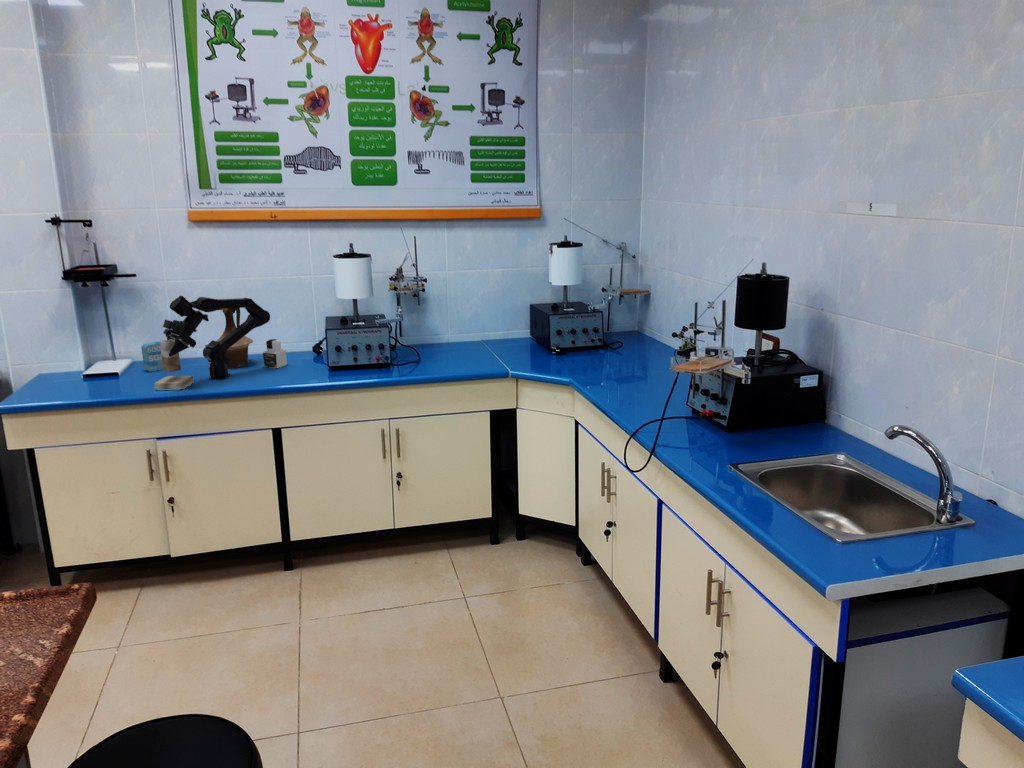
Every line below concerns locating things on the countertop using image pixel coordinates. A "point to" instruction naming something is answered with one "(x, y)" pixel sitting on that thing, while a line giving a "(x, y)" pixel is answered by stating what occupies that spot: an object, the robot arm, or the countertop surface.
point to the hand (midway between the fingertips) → (166, 354)
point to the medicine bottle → (274, 354)
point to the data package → (152, 356)
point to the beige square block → (174, 382)
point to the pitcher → (240, 348)
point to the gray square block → (169, 362)
